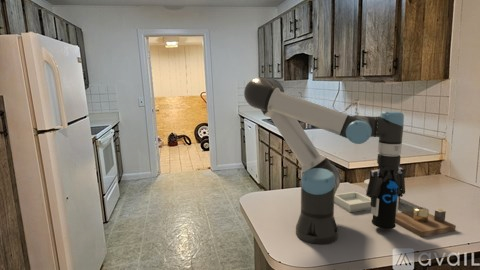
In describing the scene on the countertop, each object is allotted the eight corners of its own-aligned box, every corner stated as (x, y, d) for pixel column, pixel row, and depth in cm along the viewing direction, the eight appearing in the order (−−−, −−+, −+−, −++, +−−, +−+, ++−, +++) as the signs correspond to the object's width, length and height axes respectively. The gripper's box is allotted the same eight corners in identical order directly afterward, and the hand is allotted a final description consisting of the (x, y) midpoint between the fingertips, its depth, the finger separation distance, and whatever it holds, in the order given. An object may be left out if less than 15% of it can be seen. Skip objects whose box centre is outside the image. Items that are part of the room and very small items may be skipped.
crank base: (421, 237, 110) (422, 221, 109) (387, 219, 125) (388, 204, 124) (455, 230, 114) (456, 214, 113) (418, 213, 129) (420, 199, 128)
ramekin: (390, 196, 150) (391, 186, 149) (366, 195, 152) (367, 185, 151) (384, 188, 161) (384, 179, 160) (361, 188, 163) (362, 178, 162)
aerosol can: (366, 221, 118) (370, 171, 115) (383, 218, 121) (387, 168, 118) (383, 230, 110) (387, 177, 107) (400, 227, 113) (405, 174, 110)
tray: (349, 212, 132) (349, 204, 131) (332, 201, 144) (332, 194, 143) (374, 208, 135) (375, 201, 135) (355, 198, 148) (355, 191, 147)
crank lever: (431, 220, 117) (432, 210, 117) (421, 222, 116) (421, 212, 115) (398, 205, 133) (399, 196, 132) (389, 207, 131) (389, 198, 131)
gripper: (372, 158, 105) (367, 221, 108) (420, 154, 111) (414, 213, 114) (357, 153, 112) (354, 212, 115) (404, 150, 118) (399, 206, 122)
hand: (384, 213), depth 115 cm, fingers closed on aerosol can, 8 cm apart
